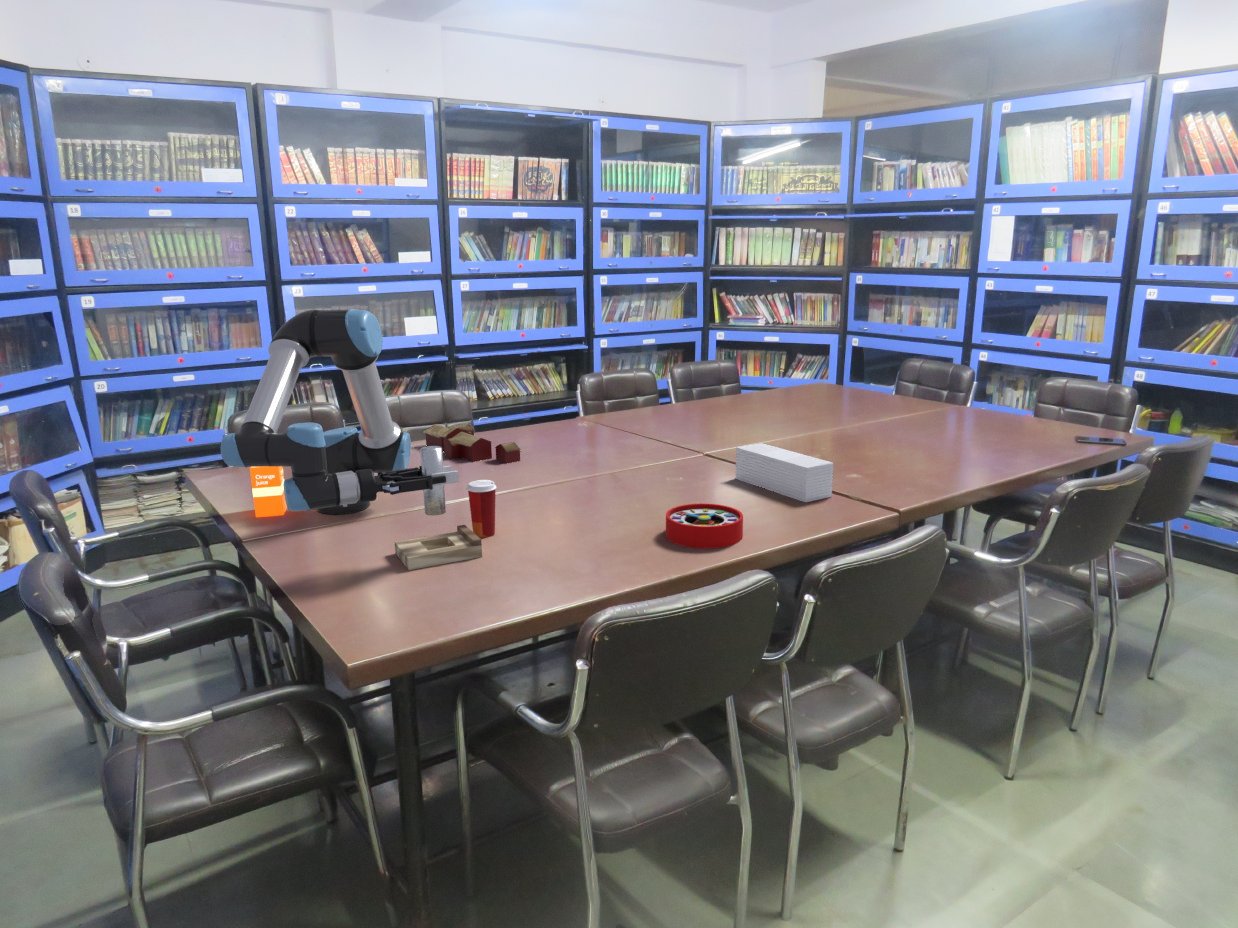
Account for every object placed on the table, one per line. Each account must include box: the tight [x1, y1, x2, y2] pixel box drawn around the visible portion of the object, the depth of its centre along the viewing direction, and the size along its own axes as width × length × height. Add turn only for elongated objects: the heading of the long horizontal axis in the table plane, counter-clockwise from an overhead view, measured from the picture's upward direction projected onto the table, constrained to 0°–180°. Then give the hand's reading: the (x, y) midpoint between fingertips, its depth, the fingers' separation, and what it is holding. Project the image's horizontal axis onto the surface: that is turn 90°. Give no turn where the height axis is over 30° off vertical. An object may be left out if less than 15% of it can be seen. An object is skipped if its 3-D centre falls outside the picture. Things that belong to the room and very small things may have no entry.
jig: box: [394, 524, 483, 571], centre depth 205 cm, size 13×18×4 cm
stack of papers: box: [734, 442, 834, 503], centre depth 259 cm, size 32×11×11 cm, turn 32°
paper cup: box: [466, 479, 497, 539], centre depth 218 cm, size 8×8×14 cm
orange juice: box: [249, 466, 288, 518], centre depth 239 cm, size 8×9×20 cm
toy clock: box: [665, 503, 744, 549], centre depth 217 cm, size 20×6×20 cm
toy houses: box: [423, 423, 522, 464], centre depth 307 cm, size 45×20×10 cm, turn 39°
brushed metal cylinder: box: [419, 446, 447, 517], centre depth 200 cm, size 5×5×16 cm
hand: (454, 473), depth 202 cm, fingers closed on brushed metal cylinder, 5 cm apart
